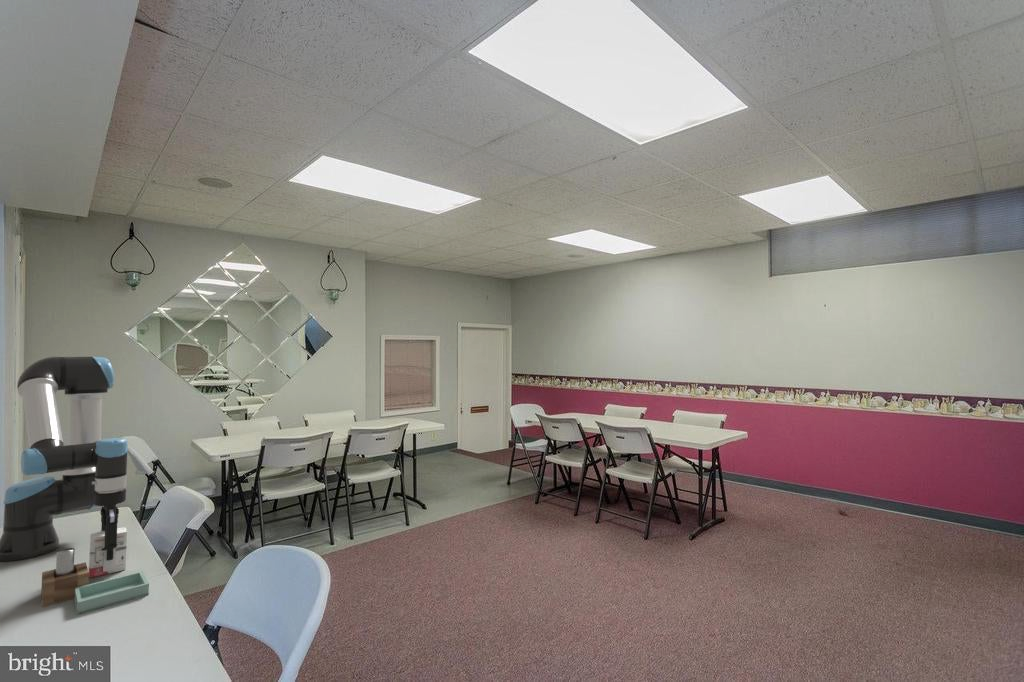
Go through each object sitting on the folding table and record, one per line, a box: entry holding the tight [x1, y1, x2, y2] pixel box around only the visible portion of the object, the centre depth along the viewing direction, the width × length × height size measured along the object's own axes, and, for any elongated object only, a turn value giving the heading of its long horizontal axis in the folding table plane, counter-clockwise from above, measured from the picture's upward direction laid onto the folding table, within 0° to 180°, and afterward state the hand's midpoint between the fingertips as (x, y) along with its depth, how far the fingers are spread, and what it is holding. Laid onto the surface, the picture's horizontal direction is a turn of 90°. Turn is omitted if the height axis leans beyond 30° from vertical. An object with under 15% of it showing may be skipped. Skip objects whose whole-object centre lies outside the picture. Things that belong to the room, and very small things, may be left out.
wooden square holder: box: [40, 562, 90, 607], centre depth 132 cm, size 9×9×6 cm
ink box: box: [88, 527, 128, 578], centre depth 147 cm, size 9×5×12 cm, turn 132°
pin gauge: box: [55, 547, 75, 577], centre depth 132 cm, size 4×4×12 cm
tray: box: [73, 570, 150, 615], centre depth 131 cm, size 11×15×3 cm
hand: (107, 566), depth 146 cm, fingers closed on ink box, 5 cm apart
